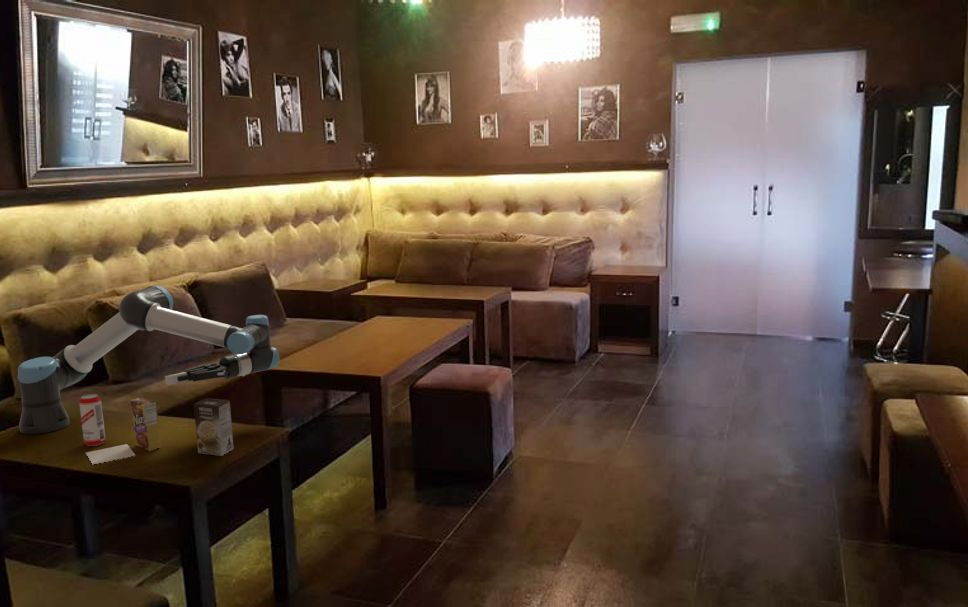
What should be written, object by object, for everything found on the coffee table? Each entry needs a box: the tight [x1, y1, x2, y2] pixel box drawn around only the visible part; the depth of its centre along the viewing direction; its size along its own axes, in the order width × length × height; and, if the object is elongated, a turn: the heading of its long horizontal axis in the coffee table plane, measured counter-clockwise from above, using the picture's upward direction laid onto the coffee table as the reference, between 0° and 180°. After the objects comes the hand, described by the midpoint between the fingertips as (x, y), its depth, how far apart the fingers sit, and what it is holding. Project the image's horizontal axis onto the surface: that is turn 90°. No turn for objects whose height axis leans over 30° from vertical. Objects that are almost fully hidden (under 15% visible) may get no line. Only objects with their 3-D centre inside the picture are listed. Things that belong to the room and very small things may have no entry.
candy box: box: [129, 396, 162, 452], centre depth 250 cm, size 9×4×15 cm, turn 50°
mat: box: [85, 443, 136, 466], centre depth 245 cm, size 12×12×1 cm
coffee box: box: [193, 397, 234, 457], centre depth 244 cm, size 9×6×16 cm
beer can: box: [79, 393, 107, 447], centre depth 254 cm, size 6×6×16 cm
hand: (166, 380), depth 253 cm, fingers closed
